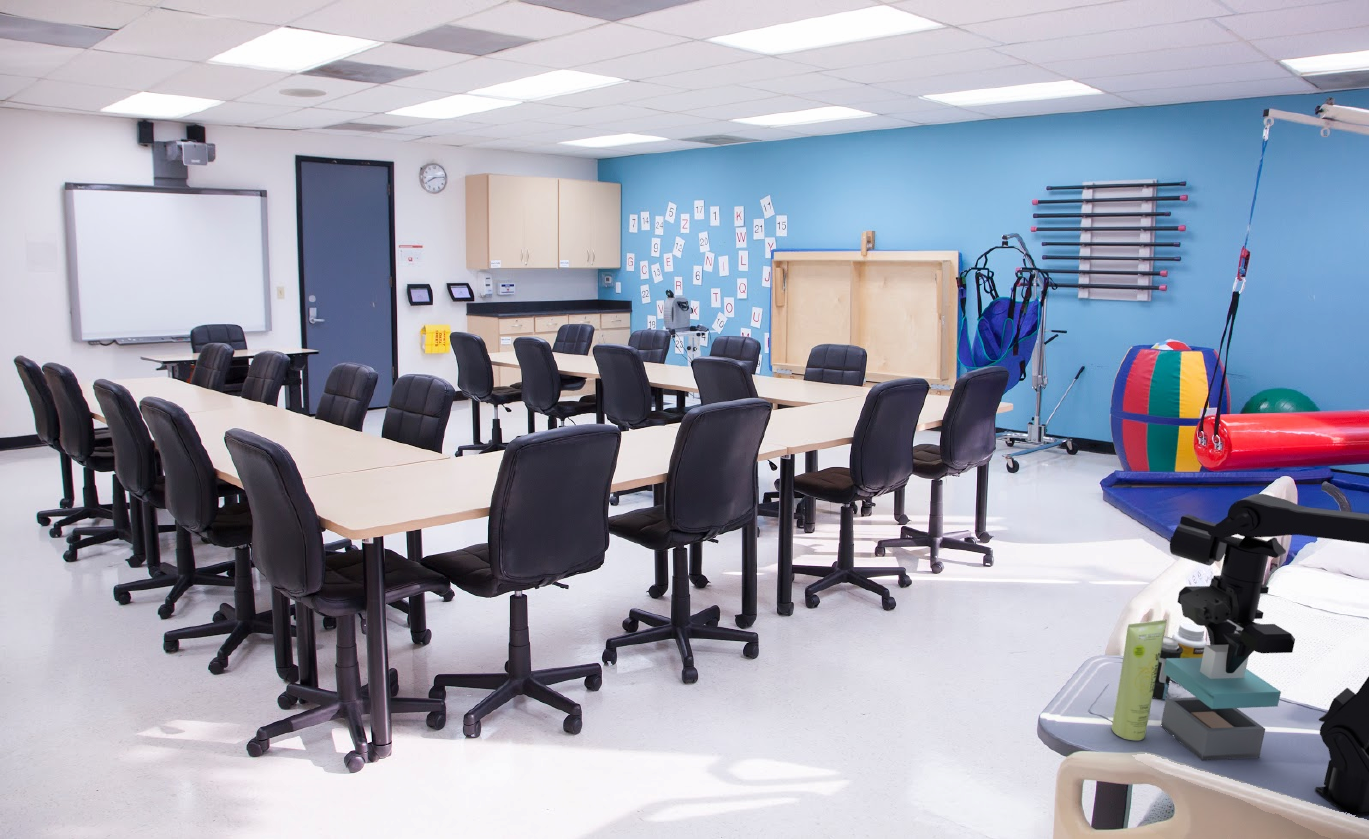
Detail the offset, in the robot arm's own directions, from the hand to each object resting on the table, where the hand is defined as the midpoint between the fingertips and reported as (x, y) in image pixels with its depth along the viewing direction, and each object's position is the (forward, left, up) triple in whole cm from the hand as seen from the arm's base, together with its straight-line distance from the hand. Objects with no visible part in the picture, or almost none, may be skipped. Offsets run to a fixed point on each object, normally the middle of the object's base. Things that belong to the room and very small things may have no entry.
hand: (1223, 668), depth 154 cm
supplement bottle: (+20, -10, -13) cm, 26 cm away
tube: (+3, +12, -13) cm, 18 cm away
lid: (0, 0, -4) cm, 4 cm away
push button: (+16, -2, -13) cm, 21 cm away
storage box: (0, 0, -13) cm, 13 cm away
